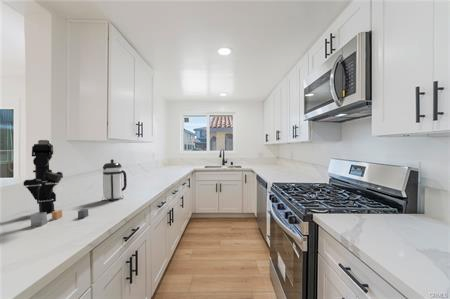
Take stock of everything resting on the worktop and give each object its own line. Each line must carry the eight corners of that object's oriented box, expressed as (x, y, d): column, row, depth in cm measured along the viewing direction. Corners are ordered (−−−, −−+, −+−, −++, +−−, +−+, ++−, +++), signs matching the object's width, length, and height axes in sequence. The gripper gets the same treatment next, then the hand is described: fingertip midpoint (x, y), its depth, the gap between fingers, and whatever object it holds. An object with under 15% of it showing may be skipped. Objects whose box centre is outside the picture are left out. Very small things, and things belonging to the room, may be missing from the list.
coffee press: (124, 200, 172) (123, 159, 171) (99, 202, 167) (98, 160, 167) (126, 196, 188) (126, 158, 188) (104, 197, 184) (103, 159, 184)
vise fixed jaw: (78, 218, 129) (77, 211, 129) (82, 215, 134) (82, 208, 134) (83, 218, 130) (83, 211, 130) (88, 215, 135) (88, 208, 135)
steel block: (30, 226, 117) (30, 214, 117) (36, 224, 121) (36, 212, 121) (41, 226, 118) (41, 214, 118) (46, 223, 122) (46, 211, 122)
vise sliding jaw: (51, 219, 128) (51, 212, 128) (57, 216, 133) (57, 209, 133) (56, 219, 128) (56, 212, 128) (62, 216, 133) (62, 209, 133)
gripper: (47, 166, 113) (48, 199, 112) (68, 166, 132) (69, 195, 131) (22, 168, 112) (22, 201, 111) (47, 168, 131) (48, 197, 129)
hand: (43, 198), depth 120 cm, fingers open, 9 cm apart
